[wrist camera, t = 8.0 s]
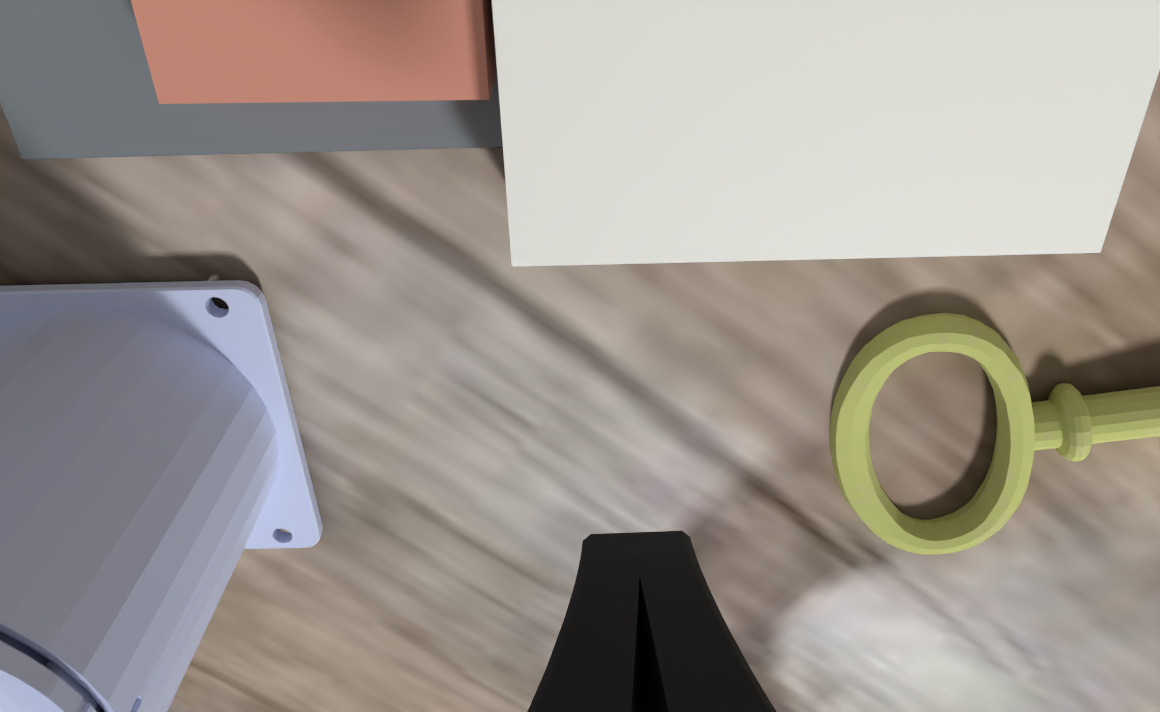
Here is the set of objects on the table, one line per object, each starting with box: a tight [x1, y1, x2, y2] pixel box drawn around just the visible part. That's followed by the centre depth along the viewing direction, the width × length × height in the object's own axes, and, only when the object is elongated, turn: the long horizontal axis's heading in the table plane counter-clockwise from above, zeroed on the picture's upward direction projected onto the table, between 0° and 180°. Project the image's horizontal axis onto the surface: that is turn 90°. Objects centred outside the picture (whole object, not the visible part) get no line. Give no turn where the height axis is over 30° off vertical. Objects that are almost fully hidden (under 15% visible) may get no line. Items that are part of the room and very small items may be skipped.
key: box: [830, 313, 1160, 554], centre depth 20 cm, size 7×12×2 cm, turn 123°
